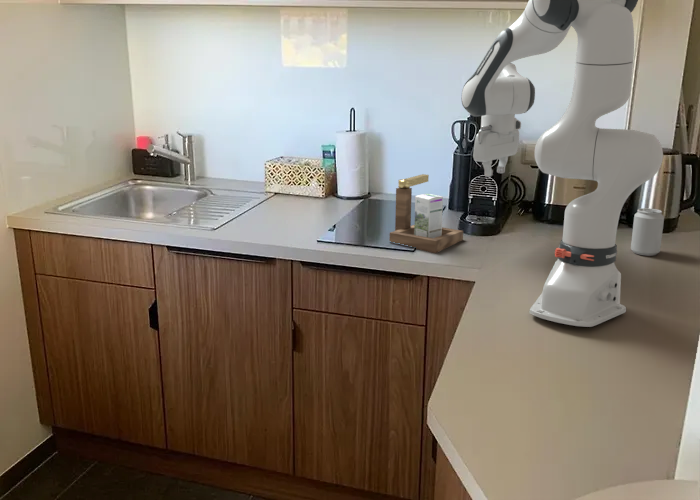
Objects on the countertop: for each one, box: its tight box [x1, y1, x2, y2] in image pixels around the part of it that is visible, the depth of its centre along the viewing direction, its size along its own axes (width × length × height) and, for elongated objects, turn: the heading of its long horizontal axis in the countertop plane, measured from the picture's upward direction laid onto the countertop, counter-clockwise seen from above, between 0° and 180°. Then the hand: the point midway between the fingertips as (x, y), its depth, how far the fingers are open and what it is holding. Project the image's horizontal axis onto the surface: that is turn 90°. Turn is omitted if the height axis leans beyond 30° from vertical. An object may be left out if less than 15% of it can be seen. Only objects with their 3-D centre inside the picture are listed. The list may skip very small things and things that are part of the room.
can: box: [630, 207, 665, 257], centre depth 194 cm, size 8×8×12 cm
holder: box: [388, 187, 464, 254], centre depth 201 cm, size 15×17×16 cm
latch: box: [397, 173, 429, 188], centre depth 207 cm, size 15×3×2 cm, turn 146°
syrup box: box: [414, 193, 444, 238], centre depth 199 cm, size 6×6×14 cm
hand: (494, 174), depth 198 cm, fingers open, 6 cm apart
